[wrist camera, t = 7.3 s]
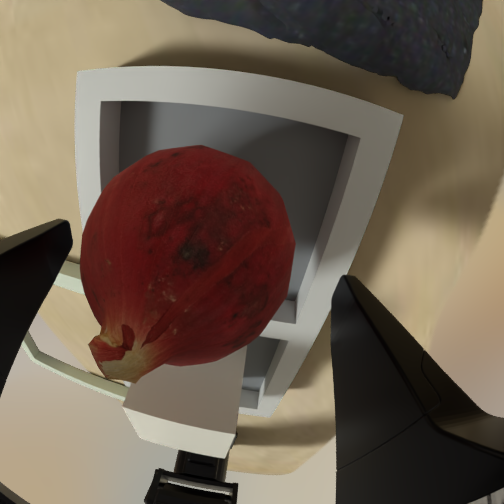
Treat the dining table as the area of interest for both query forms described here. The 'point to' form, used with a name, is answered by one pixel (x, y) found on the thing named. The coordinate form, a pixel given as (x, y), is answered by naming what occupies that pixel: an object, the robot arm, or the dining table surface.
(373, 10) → the dark folded cloth
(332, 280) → the grey divided tray
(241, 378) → the cream block
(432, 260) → the dining table surface
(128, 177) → the onion
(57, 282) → the pale green square frame
